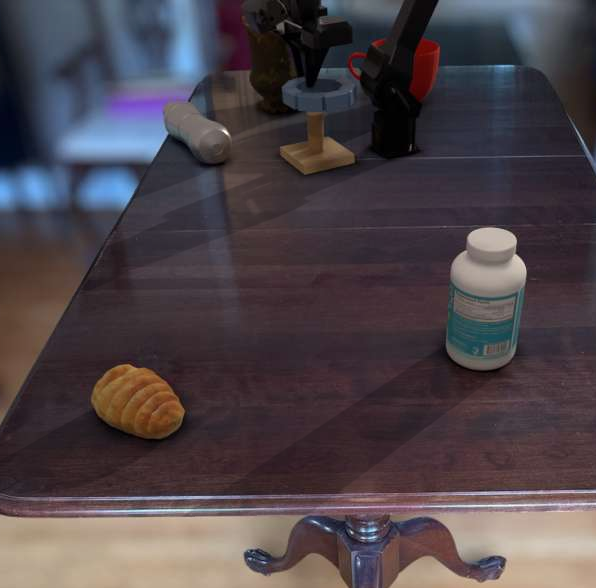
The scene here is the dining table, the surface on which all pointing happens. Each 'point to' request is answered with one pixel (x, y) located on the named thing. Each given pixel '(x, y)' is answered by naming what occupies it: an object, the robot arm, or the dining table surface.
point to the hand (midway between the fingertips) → (306, 85)
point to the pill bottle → (485, 300)
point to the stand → (316, 149)
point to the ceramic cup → (415, 67)
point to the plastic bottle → (197, 132)
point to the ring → (320, 94)
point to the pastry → (137, 402)
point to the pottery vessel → (269, 67)
